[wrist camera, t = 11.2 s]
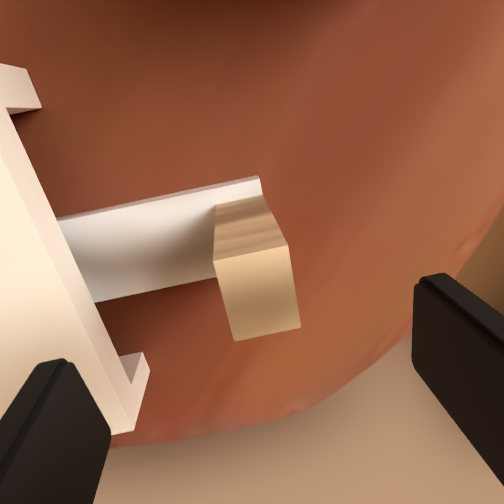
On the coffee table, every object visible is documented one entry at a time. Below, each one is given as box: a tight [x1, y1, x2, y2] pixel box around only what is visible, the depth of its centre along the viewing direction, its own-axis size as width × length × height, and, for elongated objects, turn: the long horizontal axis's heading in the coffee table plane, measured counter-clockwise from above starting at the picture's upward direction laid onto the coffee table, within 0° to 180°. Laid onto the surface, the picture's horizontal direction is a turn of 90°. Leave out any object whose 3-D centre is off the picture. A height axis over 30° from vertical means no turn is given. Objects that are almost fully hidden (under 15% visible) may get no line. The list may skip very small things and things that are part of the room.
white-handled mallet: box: [56, 175, 301, 342], centre depth 18 cm, size 6×18×10 cm, turn 101°
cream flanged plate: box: [0, 63, 150, 435], centre depth 20 cm, size 22×10×6 cm, turn 11°
